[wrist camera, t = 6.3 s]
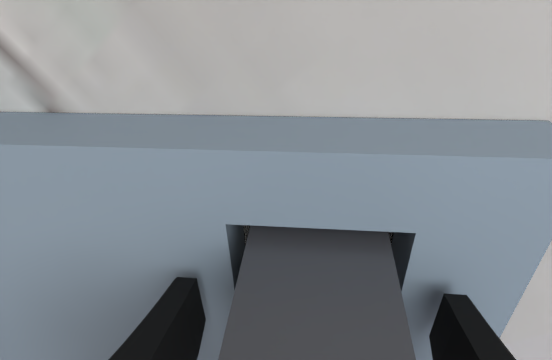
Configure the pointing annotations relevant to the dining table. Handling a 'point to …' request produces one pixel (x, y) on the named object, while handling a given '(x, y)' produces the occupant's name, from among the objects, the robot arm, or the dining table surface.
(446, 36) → the dining table surface
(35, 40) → the dining table surface
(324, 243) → the block
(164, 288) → the socket plate
